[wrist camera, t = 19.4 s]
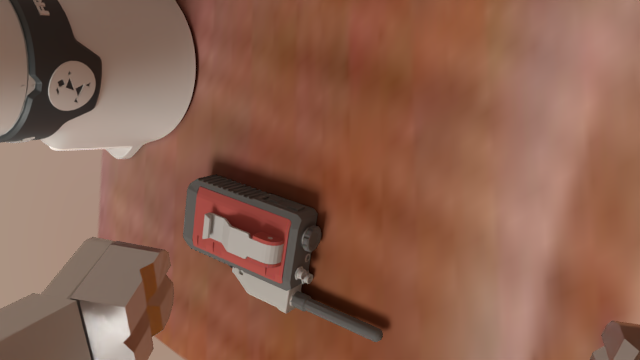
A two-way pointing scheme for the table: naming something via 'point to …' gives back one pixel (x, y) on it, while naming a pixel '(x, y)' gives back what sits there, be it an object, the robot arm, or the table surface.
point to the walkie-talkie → (261, 244)
